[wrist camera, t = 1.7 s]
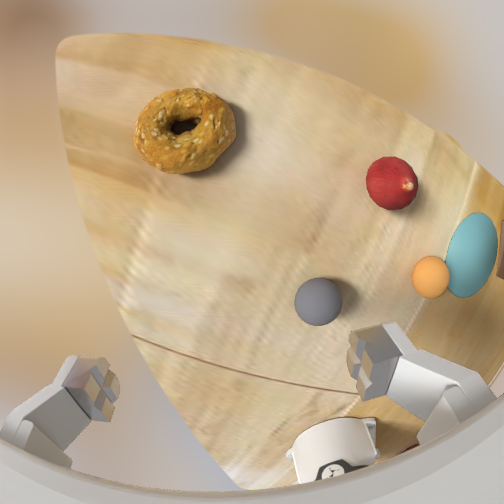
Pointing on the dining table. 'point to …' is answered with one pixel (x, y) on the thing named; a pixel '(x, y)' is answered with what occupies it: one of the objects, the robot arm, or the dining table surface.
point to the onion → (391, 183)
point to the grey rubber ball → (318, 301)
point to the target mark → (471, 255)
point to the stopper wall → (501, 254)
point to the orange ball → (430, 277)
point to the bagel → (190, 142)
